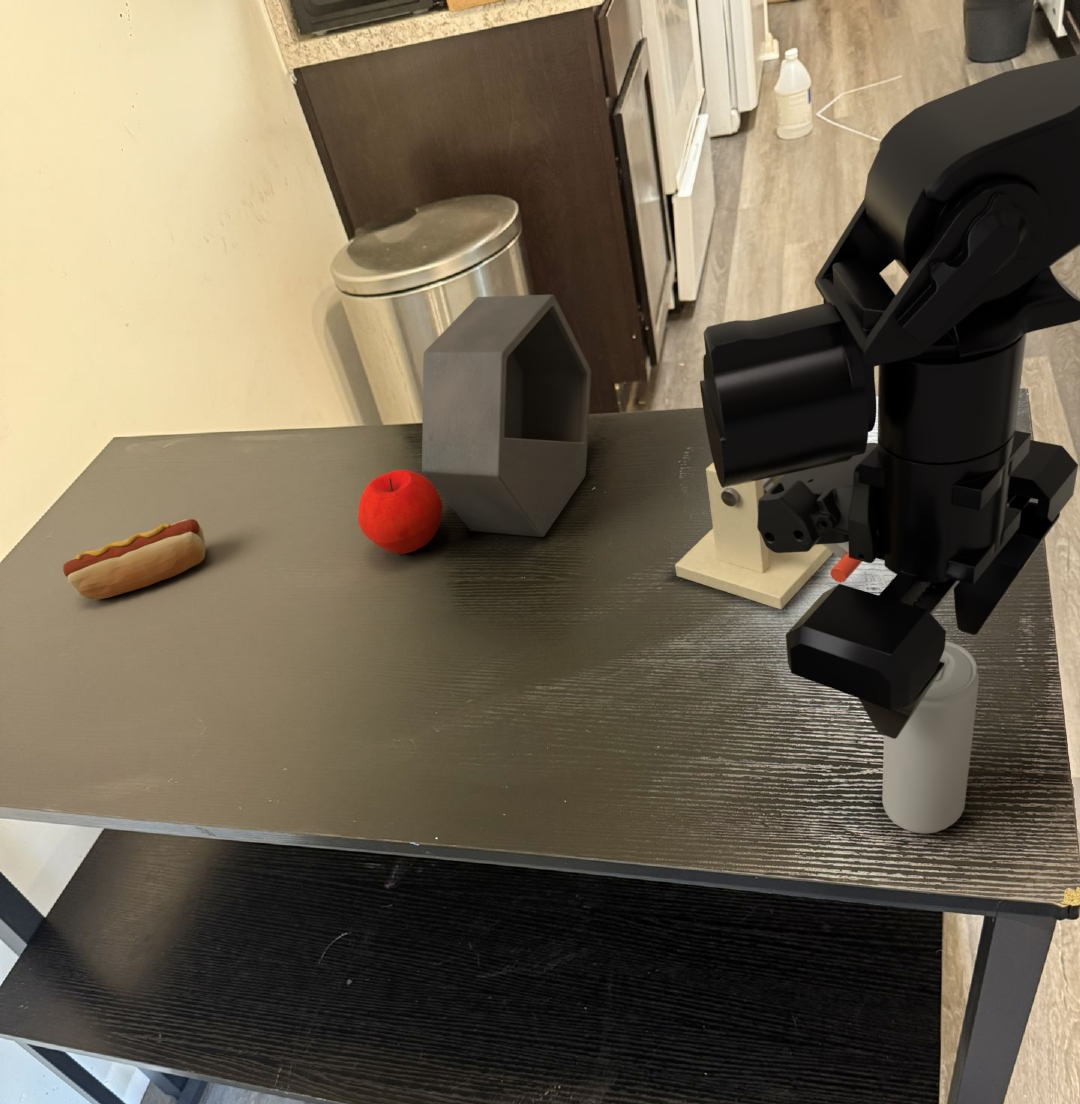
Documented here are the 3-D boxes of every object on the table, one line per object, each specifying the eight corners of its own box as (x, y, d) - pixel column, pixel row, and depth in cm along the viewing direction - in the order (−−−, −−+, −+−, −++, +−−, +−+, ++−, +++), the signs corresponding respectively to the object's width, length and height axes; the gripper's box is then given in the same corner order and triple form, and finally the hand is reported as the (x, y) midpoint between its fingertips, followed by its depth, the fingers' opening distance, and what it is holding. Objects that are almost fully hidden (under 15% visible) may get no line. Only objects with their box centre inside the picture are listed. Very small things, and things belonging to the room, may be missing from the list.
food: (83, 616, 100) (55, 577, 97) (86, 587, 104) (59, 548, 101) (216, 569, 101) (193, 528, 98) (213, 541, 105) (192, 501, 102)
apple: (408, 580, 92) (382, 513, 87) (356, 557, 97) (328, 492, 92) (469, 533, 96) (447, 465, 90) (415, 512, 100) (391, 447, 95)
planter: (496, 542, 85) (505, 277, 79) (420, 535, 88) (423, 281, 83) (583, 532, 99) (595, 308, 94) (515, 527, 103) (523, 310, 97)
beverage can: (970, 786, 63) (986, 643, 55) (956, 846, 60) (972, 705, 52) (890, 772, 65) (894, 632, 57) (873, 829, 62) (875, 691, 54)
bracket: (840, 545, 82) (838, 438, 75) (781, 610, 78) (773, 504, 71) (736, 517, 88) (725, 416, 81) (676, 576, 84) (660, 475, 77)
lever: (871, 552, 78) (885, 533, 76) (838, 589, 76) (852, 571, 73) (748, 460, 80) (759, 439, 78) (712, 494, 78) (722, 473, 76)
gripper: (881, 312, 54) (878, 549, 64) (675, 502, 46) (711, 736, 56) (1103, 339, 47) (1059, 598, 58) (908, 566, 39) (898, 817, 50)
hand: (929, 680), depth 56 cm, fingers open, 9 cm apart
